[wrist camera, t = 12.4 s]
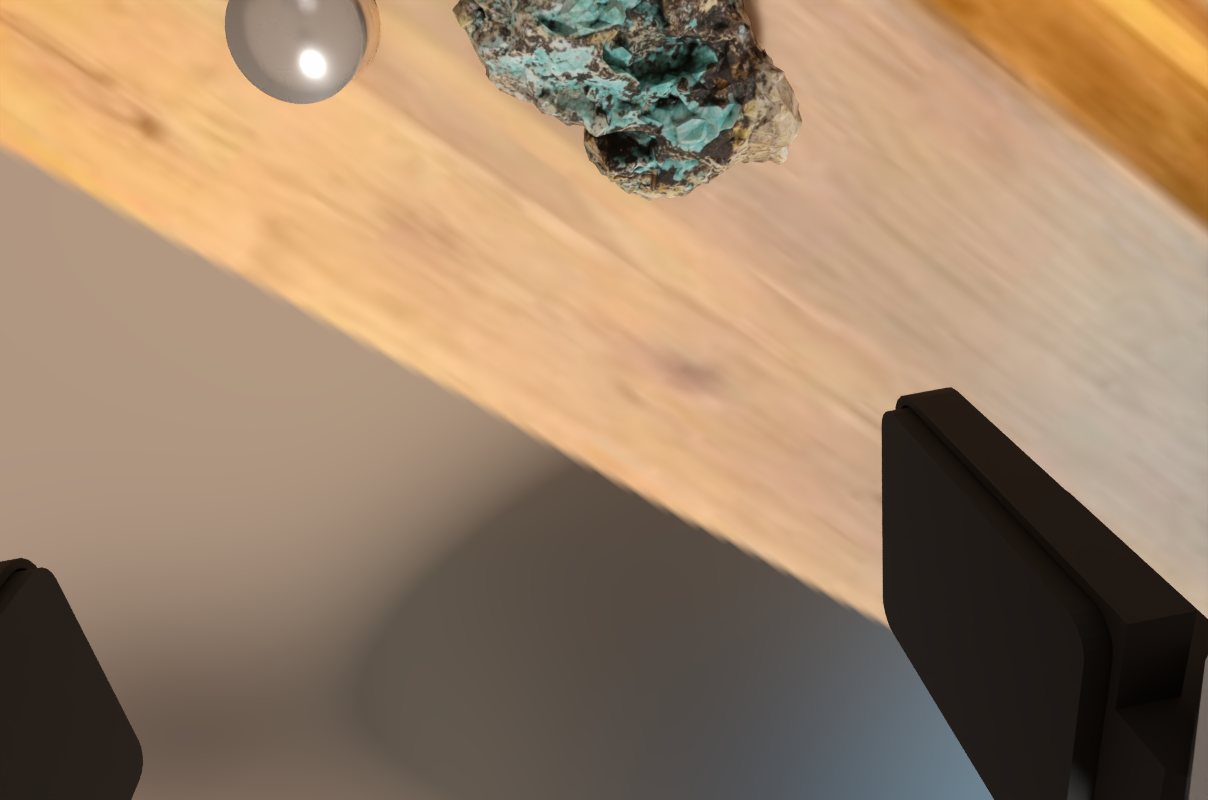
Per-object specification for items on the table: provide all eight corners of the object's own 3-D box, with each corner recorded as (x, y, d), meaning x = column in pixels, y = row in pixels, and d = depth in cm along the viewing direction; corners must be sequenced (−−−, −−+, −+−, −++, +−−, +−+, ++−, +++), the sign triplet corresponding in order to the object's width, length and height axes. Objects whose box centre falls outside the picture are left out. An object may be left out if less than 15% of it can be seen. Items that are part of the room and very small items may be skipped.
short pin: (252, -29, 32) (206, -27, 27) (365, -47, 33) (341, -48, 27) (285, 89, 34) (248, 113, 29) (392, 71, 34) (375, 92, 29)
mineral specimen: (418, -16, 32) (459, 84, 27) (607, -230, 30) (694, -167, 24) (628, 180, 41) (692, 287, 35) (792, 27, 38) (888, 118, 32)
